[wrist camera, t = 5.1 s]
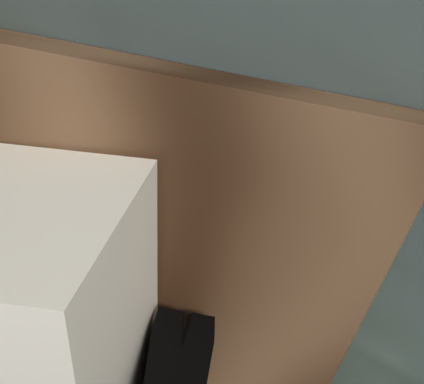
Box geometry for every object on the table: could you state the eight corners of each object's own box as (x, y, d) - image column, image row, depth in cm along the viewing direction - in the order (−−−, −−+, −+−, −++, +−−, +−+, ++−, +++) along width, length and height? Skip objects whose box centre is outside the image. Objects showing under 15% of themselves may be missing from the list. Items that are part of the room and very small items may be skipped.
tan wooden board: (-12, 371, 15) (-36, 408, 14) (-71, 14, 9) (-125, 19, 8) (285, 422, 15) (289, 462, 14) (428, 111, 9) (459, 131, 8)
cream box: (157, 159, 8) (63, 311, 4) (157, 390, 12) (107, 584, 8) (-59, 136, 9) (-327, 258, 5) (7, 368, 12) (-111, 544, 8)
